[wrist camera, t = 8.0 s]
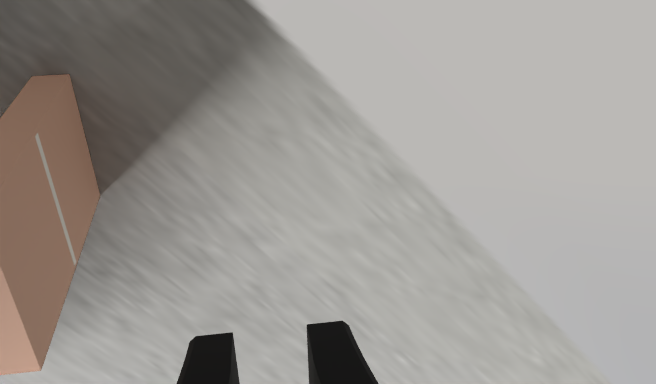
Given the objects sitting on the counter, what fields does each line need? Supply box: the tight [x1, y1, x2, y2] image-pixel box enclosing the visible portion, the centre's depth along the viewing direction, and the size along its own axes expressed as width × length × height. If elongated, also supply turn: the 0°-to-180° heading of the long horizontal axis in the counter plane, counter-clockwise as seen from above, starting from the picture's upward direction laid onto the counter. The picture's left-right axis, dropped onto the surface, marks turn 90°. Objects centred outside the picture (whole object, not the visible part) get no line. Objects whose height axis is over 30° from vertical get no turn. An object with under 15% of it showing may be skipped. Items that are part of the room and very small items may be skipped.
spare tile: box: [0, 74, 100, 375], centre depth 15 cm, size 1×4×7 cm, turn 0°
